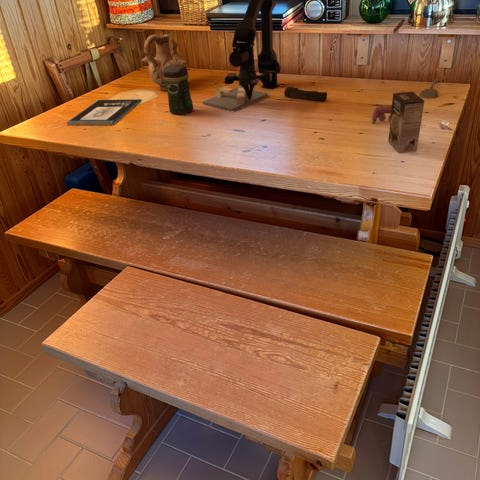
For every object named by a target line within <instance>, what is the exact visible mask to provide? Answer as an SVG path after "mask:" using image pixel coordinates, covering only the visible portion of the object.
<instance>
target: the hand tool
mask: <svg viewBox="0 0 480 480" xmlns="http://www.w3.org/2000/svg"><path fill="white" fill-rule="evenodd" d="M283 93H284V97H285V98H288V99H293V100H296V99H303V100H311V101H316V102H317V101H318V102H319V101H320V102H322V103H325V102H327V98H328V93H327V91H323V92H322V91H318V90H317V91H316V90H313V91H312V90H305V89H299V87H295V86H286V88H285V90H284V92H283Z"/></svg>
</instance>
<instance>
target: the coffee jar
mask: <svg viewBox="0 0 480 480" xmlns="http://www.w3.org/2000/svg"><path fill="white" fill-rule="evenodd" d="M163 76H164V80H165V82H166V86H167V90H166V91H167V99H168V110H169V113H171V114H172V115H186V114H191V113H192V112H193V111H194V104H193V100H192V96H191V91H190V86H189V81H188V80H189V72H188V68H187V67H186V65H184V66H167V67H165V68H164V69H163Z"/></svg>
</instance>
